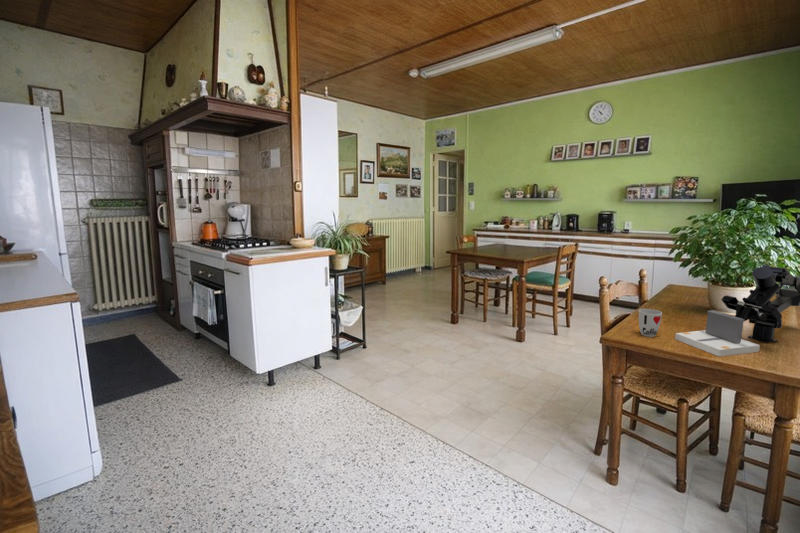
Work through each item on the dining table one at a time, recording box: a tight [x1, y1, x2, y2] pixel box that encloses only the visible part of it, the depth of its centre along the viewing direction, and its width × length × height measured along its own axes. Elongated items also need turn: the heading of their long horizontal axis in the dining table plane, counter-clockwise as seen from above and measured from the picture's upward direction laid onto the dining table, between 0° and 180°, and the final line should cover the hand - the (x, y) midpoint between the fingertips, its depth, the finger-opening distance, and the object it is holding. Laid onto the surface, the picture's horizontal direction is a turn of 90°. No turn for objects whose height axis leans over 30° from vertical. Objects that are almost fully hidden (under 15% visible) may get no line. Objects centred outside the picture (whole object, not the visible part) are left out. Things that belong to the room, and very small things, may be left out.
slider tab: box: [705, 309, 745, 343], centre depth 153 cm, size 3×12×9 cm, turn 12°
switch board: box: [674, 329, 761, 357], centre depth 153 cm, size 18×18×3 cm
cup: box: [638, 308, 663, 338], centre depth 165 cm, size 8×8×10 cm
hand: (735, 323), depth 153 cm, fingers closed
